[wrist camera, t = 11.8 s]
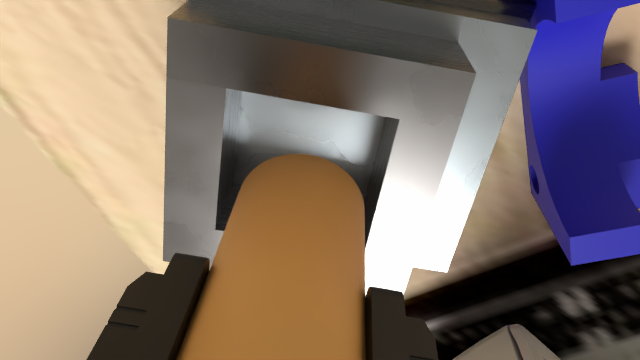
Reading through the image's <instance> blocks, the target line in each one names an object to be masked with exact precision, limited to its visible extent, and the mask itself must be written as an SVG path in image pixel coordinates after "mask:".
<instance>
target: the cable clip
mask: <svg viewBox="0 0 640 360" xmlns="http://www.w3.org/2000/svg"><path fill="white" fill-rule="evenodd" d="M531 1H532V2H534V3H535V4H536V8H535V11H534V14H533V16H532V19H531V22H530V24H531V25H533V26H534V27H535V28H536V29H537V33H536V36H535V38H534V41H533V44H532V46H531V49H530V52H529V54H528V57H527V60H526V62H525V65H524V68H523V70H522V73H521V76H520V84H521V94H522V104H523V114H524V124H525V135H526V145H527V155H528V165H529V175H530V185H531V193H532V195H533V197H534V199H535V201H536V202H537V204H538V206H539V208H540V210H541V211H542V213H543V215H544V217H545V219H546V220H547V222H548V224H549V226H550V228H551V230H552V231H553V233H554V235H555V237H556V239H557V240H558V242H559V244H560V246H561V248H562V250H563V251H564V253H565V255H566V257H567V259H568V260H569V262H570V264H571V266H572V265H578V264H584V263H590V262H595V261H601V260H607V259H613V258H619V257H625V256H630V255H636V254H640V212H639V211H638V208H640V104H639V95H638V79H637V72H636V71H634V70H633V69H632V68H630V67H629V66H627V65H626V64H625V63H621V64H616V65H612V66H608V67H603V68H601V56H602V48H603V43H604V38H605V34H606V31H607V28H608V25H609V22H610V20H611V18H612V16H613V14H614V13H615V11H616V10H617V9H618V8H621V7H625V6H629V5H633V4H637V3H640V0H531Z"/></svg>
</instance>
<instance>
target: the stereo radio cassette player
mask: <svg viewBox="0 0 640 360" xmlns="http://www.w3.org/2000/svg"><path fill="white" fill-rule="evenodd" d="M453 360H561V359H560V358H559V357H557V356H556V355H555V354H554V353H553V352H552V351H551V350H549V349H548V348H547V347H546V346H545V345H544V344H543V343H542V342H540V341H539V340H538V339H537V338H536V337H535V336H534V335H532V334H531V333H530V332H529V331H528V330H526V329H525V328H524V327H523V326H521V325H519V324H513V325H506V326H504V327H503V328H501V329H499V330H498V331H496V332H494V333H492V334H491V335H489V336H487V337H486V338H484V339H482V340H481V341H479V342H478V343H476V344H475V345H473V346H472V347H470V348H469V349H467V350H466V351H464V352H462V353H461V354H459V355H458V356H457V357H455V358H454V359H453Z"/></svg>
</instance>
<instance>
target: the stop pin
mask: <svg viewBox="0 0 640 360" xmlns="http://www.w3.org/2000/svg"><path fill="white" fill-rule="evenodd" d="M176 360H366V338H365V207H364V200H363V197H362V194H361V191H360V189H359V187H358V186H357V184H356V183H355V181H354V180H353V179H352V177H351V176H350V175H349V174H348V173H347V172H346V171H344V170H343V169H342V168H341V167H339V166H338V165H336V164H334V163H332V162H330V161H329V160H326V159H323V158H321V157H317V156H313V155H307V154H287V155H281V156H277V157H274V158H272V159H269V160H267V161H265V162H263V163H261V164H260V165H258V166H257V167H256V168H254V169H253V170H252V171H251V172H250V173H249V175H248V176H247V177H246V179H245V180H244V182H243V184H242V186H241V188H240V191H239V193H238V196H237V199H236V201H235V204H234V207H233V209H232V212H231V215H230V217H229V220H228V223H227V225H226V228H225V230H224V233H223V236H222V238H221V241H220V244H219V246H218V249H217V252H216V254H215V257H214V260H213V262H212V265H211V268H210V270H209V273H208V276H207V278H206V281H205V283H204V286H203V289H202V291H201V294H200V297H199V299H198V302H197V305H196V307H195V310H194V313H193V315H192V318H191V321H190V323H189V326H188V329H187V331H186V334H185V337H184V339H183V342H182V344H181V347H180V350H179V352H178V355H177V358H176Z"/></svg>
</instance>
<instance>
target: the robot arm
mask: <svg viewBox="0 0 640 360" xmlns="http://www.w3.org/2000/svg"><path fill="white" fill-rule="evenodd" d="M209 267H210V260H209V258H206V257H200V256H194V255H188V254H182V253H175V254H174V255H173V257H172V259H171V261H170V263H169V265H168V267H167V269H166V271H165V274H164V275H162V274H156V273H151V272H145V273H144V274H143V275H141V276H140V277H139V278H138V279H136V280H135V281H134V282H132V283H131V284H130V285H129V286H128V287H127V288H126V290H125V292H124V294H123V295H122V297H121V299H120V301H119V303H118V304H117V308H116V309H115V310H114V311H113V313H112V315H111V317H110V319H109V321H108V324H107V325H106V326H105V328H104V329H103V331H102V333H101V335H100V337H99V338H98V340H97V342H96V344H95V346H94V347H93V349H92V351H91V353H90V355H89V356H88V358H87V360H176V358H177V355H178V352H179V350H180V347H181V344H182V342H183V339H184V337H185V334H186V331H187V329H188V326H189V323H190V321H191V318H192V315H193V313H194V310H195V307H196V305H197V302H198V299H199V297H200V294H201V291H202V289H203V286H204V283H205V281H206V278H207V276H208V273H209ZM365 338H366V360H438V354H437V348H436V341H435V338H434V336H433V335H432V333H431V332H430V330H429V328H428V327H427V325H426V323H425V322H424V320H423V319H418V318H412V317H406V315H405V305H404V296H403V293H402V292H401V291H395V290H389V289H384V288H378V287H372V286H369V288H368V290H367V293H366V297H365Z"/></svg>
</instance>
